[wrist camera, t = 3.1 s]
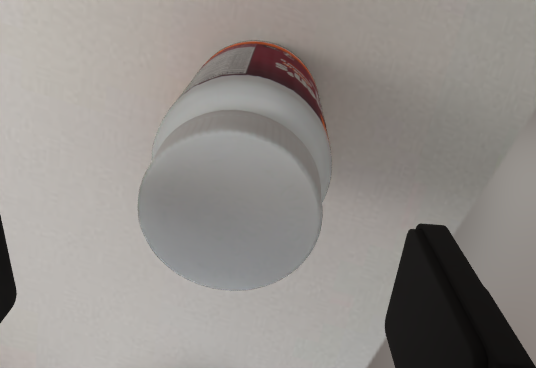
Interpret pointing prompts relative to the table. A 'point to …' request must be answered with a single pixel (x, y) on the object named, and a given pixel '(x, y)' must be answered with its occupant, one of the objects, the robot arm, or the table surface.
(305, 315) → the table surface
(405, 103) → the table surface
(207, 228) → the pill bottle
